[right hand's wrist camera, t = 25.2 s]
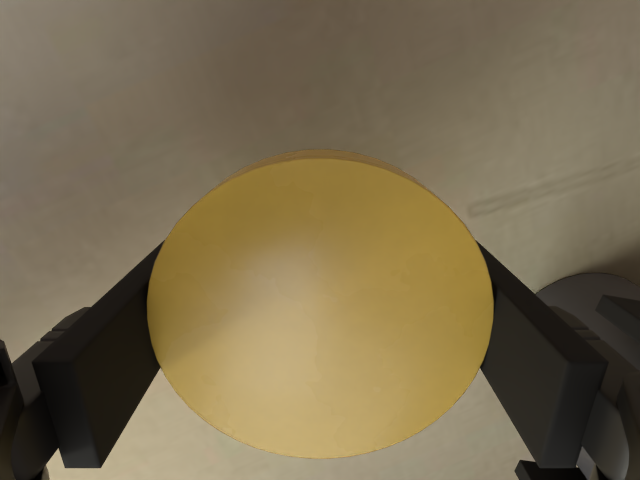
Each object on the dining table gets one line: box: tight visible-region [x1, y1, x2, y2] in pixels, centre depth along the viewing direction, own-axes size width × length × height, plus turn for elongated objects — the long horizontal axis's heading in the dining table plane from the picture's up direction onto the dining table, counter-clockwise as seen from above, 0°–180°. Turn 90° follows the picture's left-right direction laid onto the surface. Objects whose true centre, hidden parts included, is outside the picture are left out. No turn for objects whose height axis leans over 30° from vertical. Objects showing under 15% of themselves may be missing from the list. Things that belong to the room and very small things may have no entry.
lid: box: [147, 149, 494, 459], centre depth 11 cm, size 9×9×2 cm
